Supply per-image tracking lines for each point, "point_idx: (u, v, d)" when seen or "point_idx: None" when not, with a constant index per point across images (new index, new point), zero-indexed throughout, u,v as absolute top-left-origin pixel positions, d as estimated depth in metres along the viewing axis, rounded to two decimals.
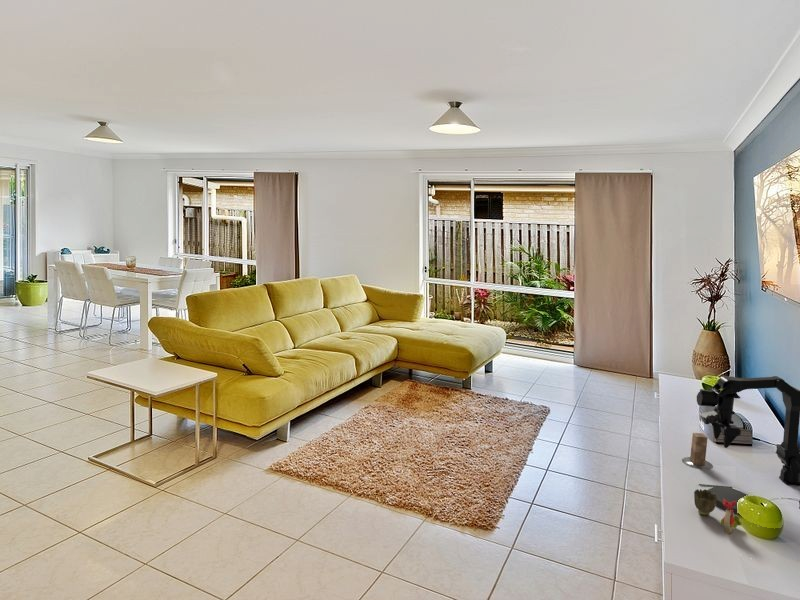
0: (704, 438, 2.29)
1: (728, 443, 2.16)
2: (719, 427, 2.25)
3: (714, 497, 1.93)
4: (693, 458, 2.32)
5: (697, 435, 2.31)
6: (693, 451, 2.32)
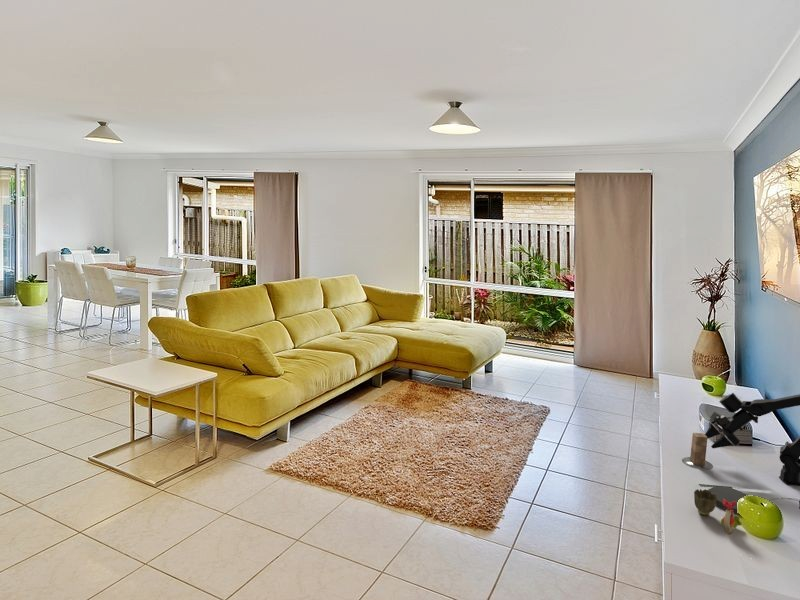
0: (704, 438, 2.29)
1: (717, 446, 2.25)
2: (713, 433, 2.35)
3: (714, 497, 1.93)
4: (693, 458, 2.32)
5: (697, 435, 2.31)
6: (693, 451, 2.32)
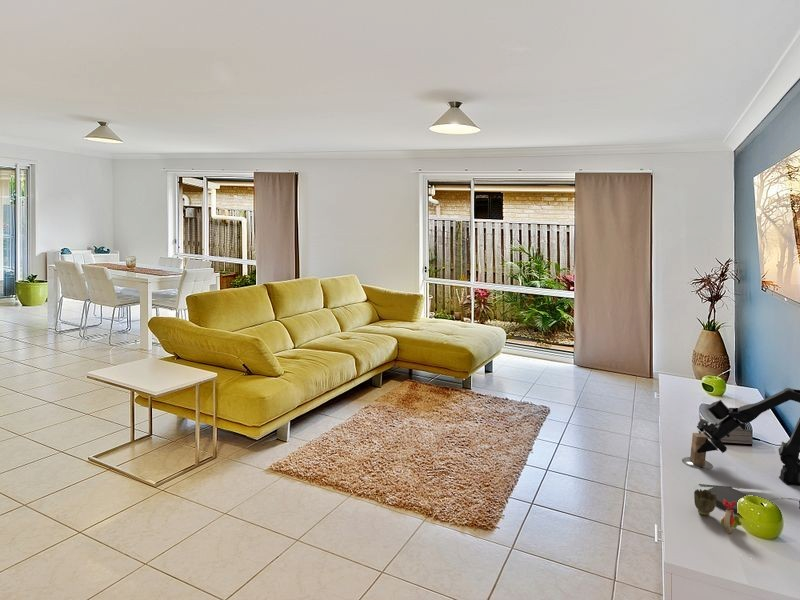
0: (704, 438, 2.29)
1: (703, 450, 2.29)
2: None
3: (714, 497, 1.93)
4: (693, 458, 2.32)
5: (697, 435, 2.31)
6: (693, 451, 2.32)
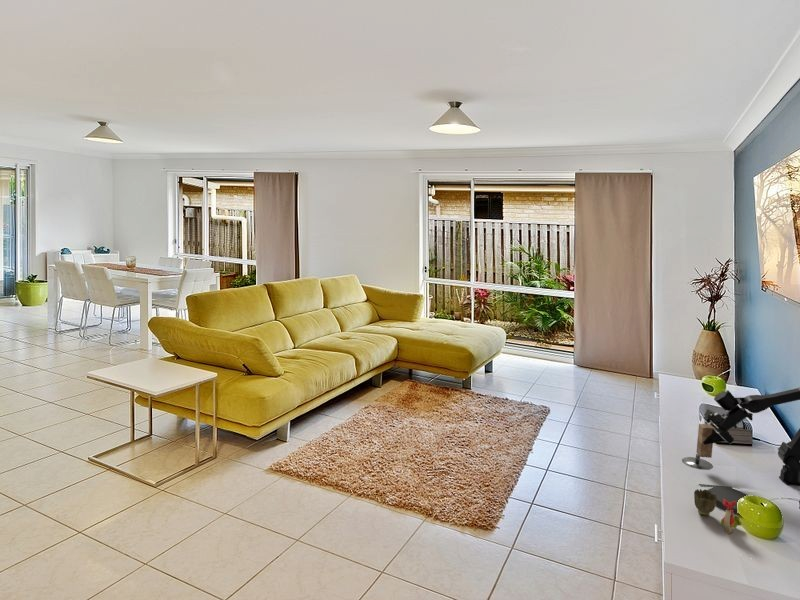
0: (711, 429, 2.23)
1: (709, 442, 2.23)
2: None
3: (714, 497, 1.93)
4: (699, 450, 2.26)
5: (703, 426, 2.25)
6: (699, 443, 2.26)
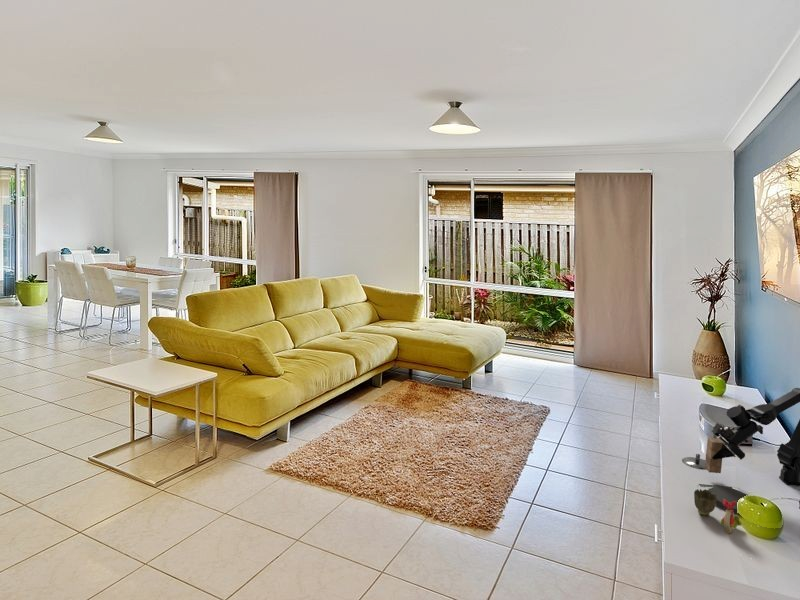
0: (720, 444, 2.14)
1: (719, 457, 2.13)
2: None
3: (714, 497, 1.93)
4: (708, 465, 2.17)
5: (712, 440, 2.15)
6: (708, 457, 2.17)
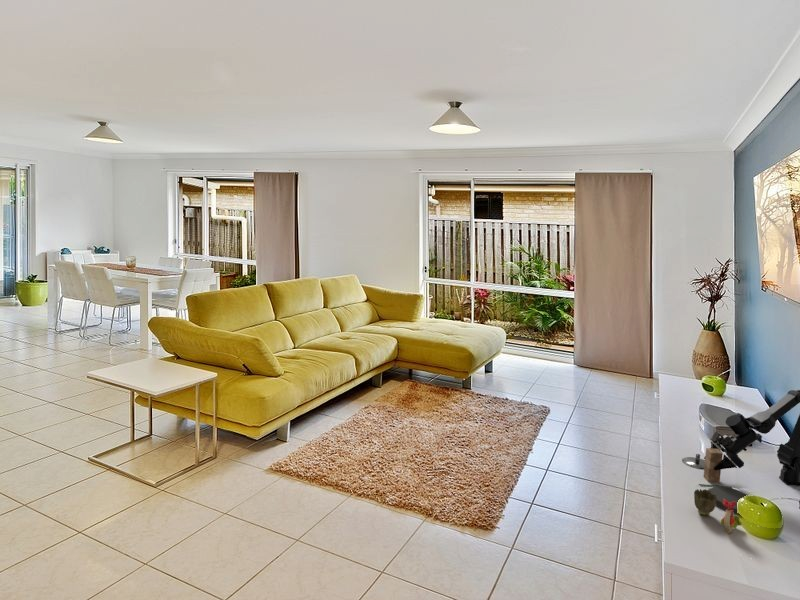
0: (719, 454, 2.14)
1: (720, 467, 2.12)
2: None
3: (714, 497, 1.93)
4: (707, 475, 2.17)
5: (711, 451, 2.16)
6: (707, 468, 2.17)
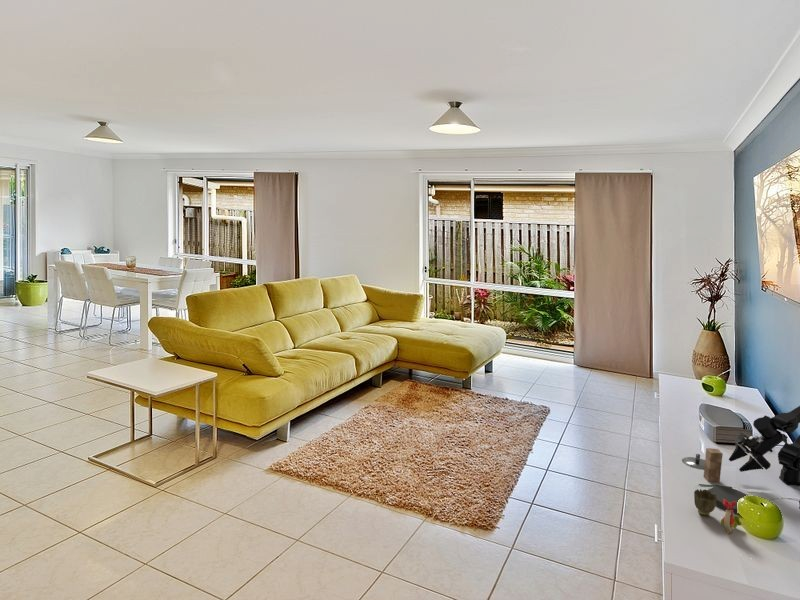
0: (719, 454, 2.14)
1: (746, 469, 2.10)
2: (740, 454, 2.20)
3: (714, 497, 1.93)
4: (707, 475, 2.17)
5: (711, 451, 2.16)
6: (707, 468, 2.17)
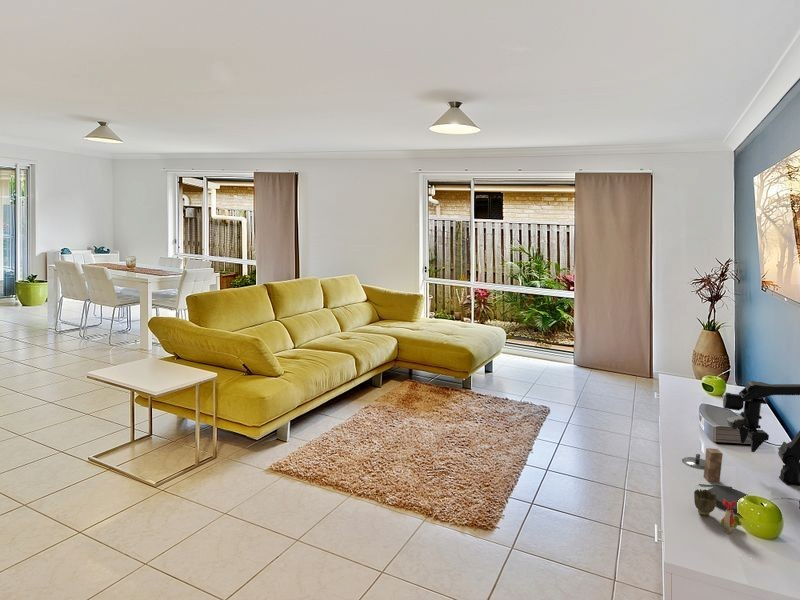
0: (719, 454, 2.14)
1: (755, 447, 2.18)
2: (745, 431, 2.28)
3: (714, 497, 1.93)
4: (707, 475, 2.17)
5: (711, 451, 2.16)
6: (707, 468, 2.17)
